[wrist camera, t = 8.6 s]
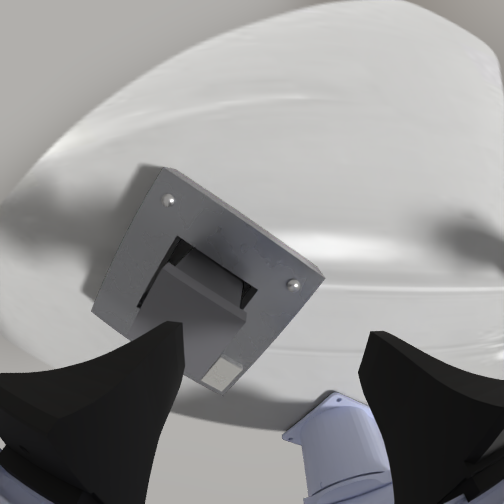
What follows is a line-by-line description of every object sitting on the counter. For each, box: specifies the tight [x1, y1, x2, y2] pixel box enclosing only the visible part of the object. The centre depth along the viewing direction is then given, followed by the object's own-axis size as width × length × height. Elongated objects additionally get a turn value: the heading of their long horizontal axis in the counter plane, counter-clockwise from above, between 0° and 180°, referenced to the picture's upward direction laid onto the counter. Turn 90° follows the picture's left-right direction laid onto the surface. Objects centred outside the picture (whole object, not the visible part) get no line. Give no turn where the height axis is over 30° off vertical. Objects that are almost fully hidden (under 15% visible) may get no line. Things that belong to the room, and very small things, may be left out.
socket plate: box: [91, 167, 325, 396], centre depth 18 cm, size 12×12×3 cm
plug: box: [127, 247, 247, 380], centre depth 16 cm, size 5×5×7 cm
